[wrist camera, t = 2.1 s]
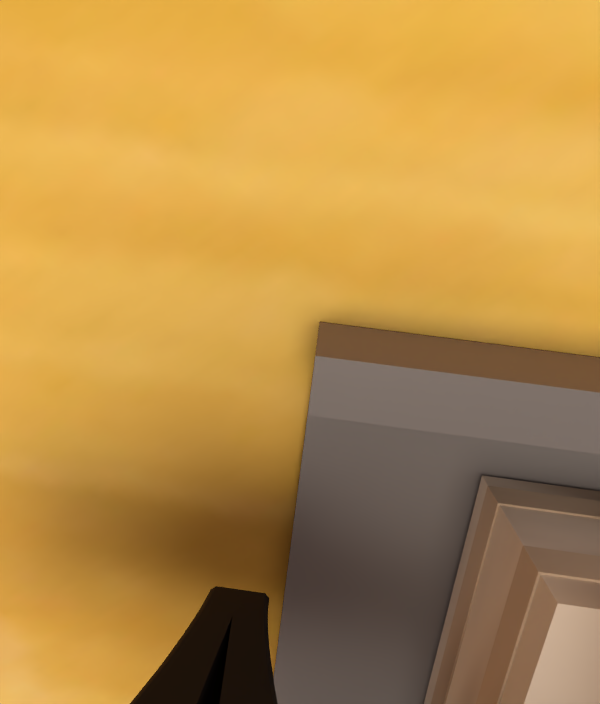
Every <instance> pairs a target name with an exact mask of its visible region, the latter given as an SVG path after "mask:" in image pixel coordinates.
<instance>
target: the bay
mask: <svg viewBox="0 0 600 704" xmlns="http://www.w3.org/2000/svg"><path fill="white" fill-rule="evenodd" d="M482 475H483V476H490V477H497V478H505V479H512V480H519V481H527V482H534V483H541V484H549V485H556V486H563V487H571V488H578V489H585V490H593V491H600V358H599V357H591V356H584V355H576V354H568V353H560V352H552V351H544V350H536V349H529V348H521V347H513V346H505V345H497V344H489V343H481V342H473V341H466V340H458V339H450V338H442V337H434V336H426V335H418V334H410V333H403V332H395V331H387V330H379V329H371V328H363V327H355V326H347V325H340V324H332V323H324V322H320V324H319V331H318V339H317V347H316V355H315V362H314V370H313V378H312V385H311V393H310V401H309V409H308V416H307V424H306V432H305V439H304V447H303V455H302V463H301V470H300V478H299V486H298V493H297V501H296V509H295V516H294V524H293V532H292V540H291V547H290V555H289V563H288V570H287V578H286V586H285V594H284V601H283V609H282V617H281V624H280V632H279V640H278V648H277V655H276V663H275V671H274V678H273V679H274V686H275V692H276V697H277V703H278V704H424V701H425V697H426V693H427V689H428V685H429V681H430V677H431V673H432V669H433V666H434V662H435V658H436V654H437V650H438V646H439V642H440V638H441V634H442V630H443V626H444V622H445V619H446V615H447V611H448V607H449V603H450V599H451V595H452V591H453V587H454V583H455V579H456V575H457V571H458V568H459V564H460V560H461V556H462V552H463V548H464V544H465V540H466V536H467V532H468V528H469V524H470V521H471V517H472V513H473V509H474V505H475V501H476V497H477V493H478V489H479V485H480V481H481V477H482Z"/></svg>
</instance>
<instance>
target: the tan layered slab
mask: <svg viewBox="0 0 600 704" xmlns="http://www.w3.org/2000/svg"><path fill="white" fill-rule="evenodd" d="M424 704H600V491H593V490H585V489H578V488H571V487H563V486H556V485H549V484H541V483H534V482H527V481H519V480H512V479H505V478H497V477H490V476H483V475H482V477H481V481H480V485H479V489H478V493H477V497H476V501H475V505H474V509H473V513H472V517H471V521H470V524H469V528H468V532H467V536H466V540H465V544H464V548H463V552H462V556H461V560H460V564H459V568H458V571H457V575H456V579H455V583H454V587H453V591H452V595H451V599H450V603H449V607H448V611H447V615H446V619H445V622H444V626H443V630H442V634H441V638H440V642H439V646H438V650H437V654H436V658H435V662H434V666H433V669H432V673H431V677H430V681H429V685H428V689H427V693H426V697H425V701H424Z"/></svg>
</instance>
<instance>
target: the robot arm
mask: <svg viewBox="0 0 600 704" xmlns="http://www.w3.org/2000/svg"><path fill="white" fill-rule="evenodd" d="M268 603H269V597H268V596H267V595H266V594H265V593H258V592H252V591H245V590H238V589H231V588H224V587H217V586H216V587H214V588H213V589H211V590H210V592H209V594H208V596H207V598H206V600H205V601H204V603H203V605H202V607H201V608H200V610H199V612H198V613H197V615H196V616H195V618H194V619H193V621H192V622H191V624H190V625H189V627H188V628H187V630H186V631H185V633H184V634H183V636H182V637H181V639H180V640H179V641H178V643H177V644H176V645H175V647H174V648H173V650H172V651H171V652H170V654H169V655H168V657H167V658H166V659H165V661H164V662H163V663H162V665H161V666H160V667H159V669H158V670H157V671H156V672H155V674H154V675H153V676H152V677H151V678H150V680H149V681H148V682H147V683H146V685H145V686H144V687H143V688H142V690H141V691H140V692H139V693H138V695H137V696H136V697H135V698H134V700H133V701H132V702H131V703H130V704H278V703H277V697H276V692H275V686H274V679H273V672H272V666H271V659H270V650H269V638H268Z"/></svg>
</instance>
